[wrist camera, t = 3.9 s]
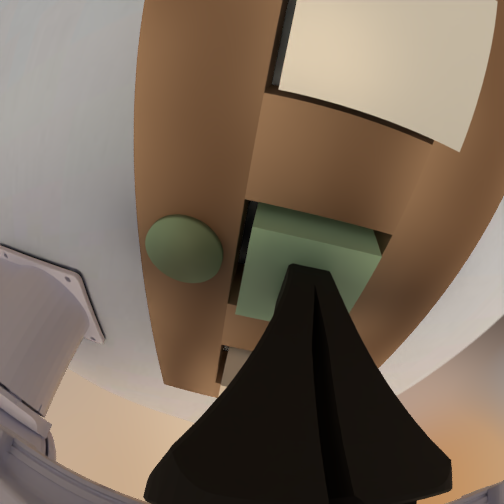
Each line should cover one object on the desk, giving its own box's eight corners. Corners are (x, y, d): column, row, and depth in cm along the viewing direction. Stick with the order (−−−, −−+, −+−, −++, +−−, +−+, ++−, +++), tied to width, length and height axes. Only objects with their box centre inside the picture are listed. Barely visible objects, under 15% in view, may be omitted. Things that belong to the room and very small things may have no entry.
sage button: (247, 262, 13) (235, 314, 11) (263, 182, 10) (252, 226, 8) (332, 280, 13) (336, 333, 11) (365, 207, 10) (382, 256, 8)
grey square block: (284, 78, 7) (278, 89, 5) (309, -40, 4) (314, -81, 2) (413, 119, 7) (459, 152, 5) (441, 9, 4) (497, 1, 2)
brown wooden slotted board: (173, 355, 20) (162, 387, 18) (203, -92, 4) (175, -122, 2) (328, 385, 20) (327, 417, 18) (512, 9, 4) (556, 11, 1)
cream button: (225, 368, 17) (215, 410, 15) (232, 334, 15) (220, 385, 12) (287, 379, 17) (283, 422, 15) (306, 348, 15) (304, 399, 12)
